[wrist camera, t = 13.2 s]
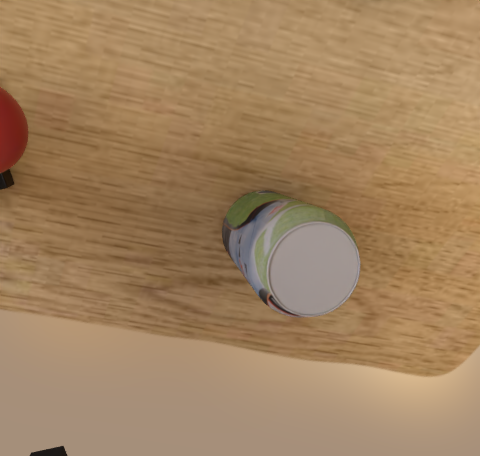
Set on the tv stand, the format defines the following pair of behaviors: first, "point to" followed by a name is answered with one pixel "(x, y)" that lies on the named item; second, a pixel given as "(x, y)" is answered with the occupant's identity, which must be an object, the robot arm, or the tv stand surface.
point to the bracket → (6, 179)
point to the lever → (11, 131)
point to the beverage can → (292, 253)
